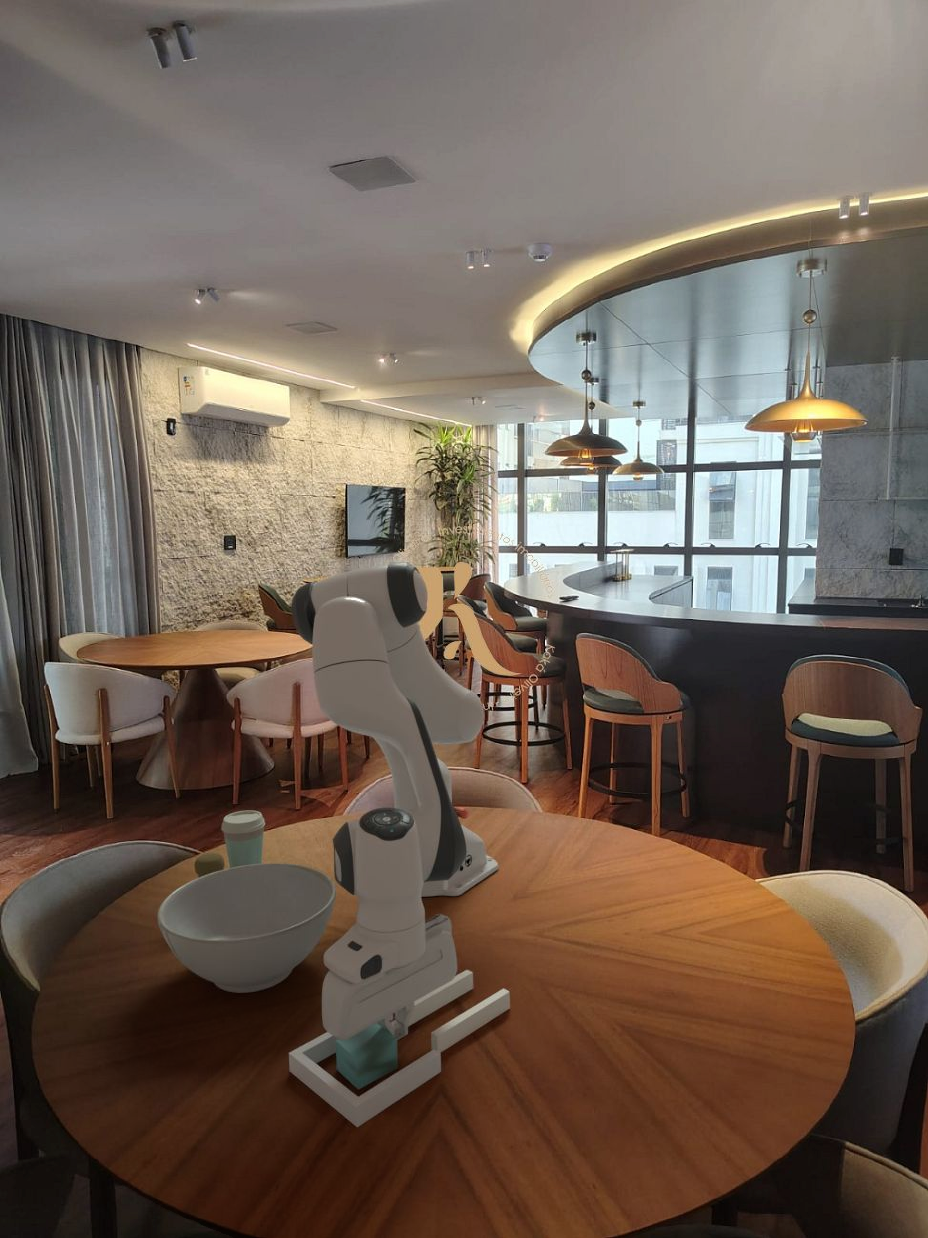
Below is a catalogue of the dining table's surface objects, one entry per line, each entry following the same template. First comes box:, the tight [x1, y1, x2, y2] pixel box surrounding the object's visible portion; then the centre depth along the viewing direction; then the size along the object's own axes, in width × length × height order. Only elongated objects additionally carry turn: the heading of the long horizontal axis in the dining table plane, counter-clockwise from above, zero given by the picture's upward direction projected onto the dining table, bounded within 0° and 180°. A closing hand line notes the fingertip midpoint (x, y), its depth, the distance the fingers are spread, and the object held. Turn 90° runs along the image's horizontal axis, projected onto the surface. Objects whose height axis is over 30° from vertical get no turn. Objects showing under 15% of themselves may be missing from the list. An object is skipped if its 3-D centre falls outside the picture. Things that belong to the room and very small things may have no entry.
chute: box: [394, 969, 511, 1053], centre depth 114 cm, size 14×9×2 cm, turn 134°
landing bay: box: [288, 1031, 442, 1128], centre depth 103 cm, size 13×14×2 cm
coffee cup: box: [220, 809, 266, 868], centre depth 164 cm, size 8×9×12 cm
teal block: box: [335, 1022, 399, 1091], centre depth 103 cm, size 6×5×4 cm
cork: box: [194, 852, 226, 878], centre depth 147 cm, size 6×6×11 cm
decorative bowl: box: [157, 862, 337, 994], centre depth 127 cm, size 27×27×12 cm
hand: (395, 1037), depth 106 cm, fingers closed
